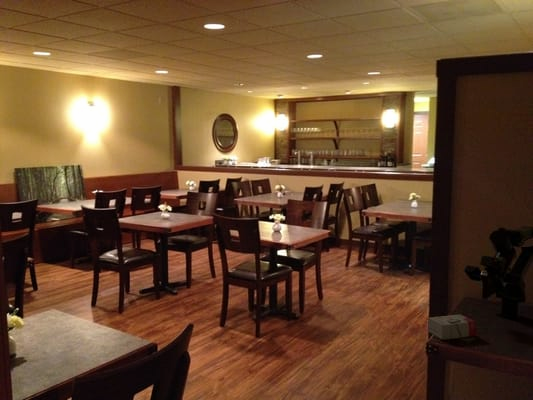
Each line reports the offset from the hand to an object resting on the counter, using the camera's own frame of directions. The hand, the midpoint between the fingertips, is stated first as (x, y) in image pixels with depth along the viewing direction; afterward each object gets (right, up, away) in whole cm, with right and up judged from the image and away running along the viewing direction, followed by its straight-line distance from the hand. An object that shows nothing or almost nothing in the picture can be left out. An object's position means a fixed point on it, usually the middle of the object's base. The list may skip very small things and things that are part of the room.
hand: (483, 298), depth 152 cm
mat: (-9, -11, -6) cm, 16 cm away
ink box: (-6, -8, -2) cm, 10 cm away
